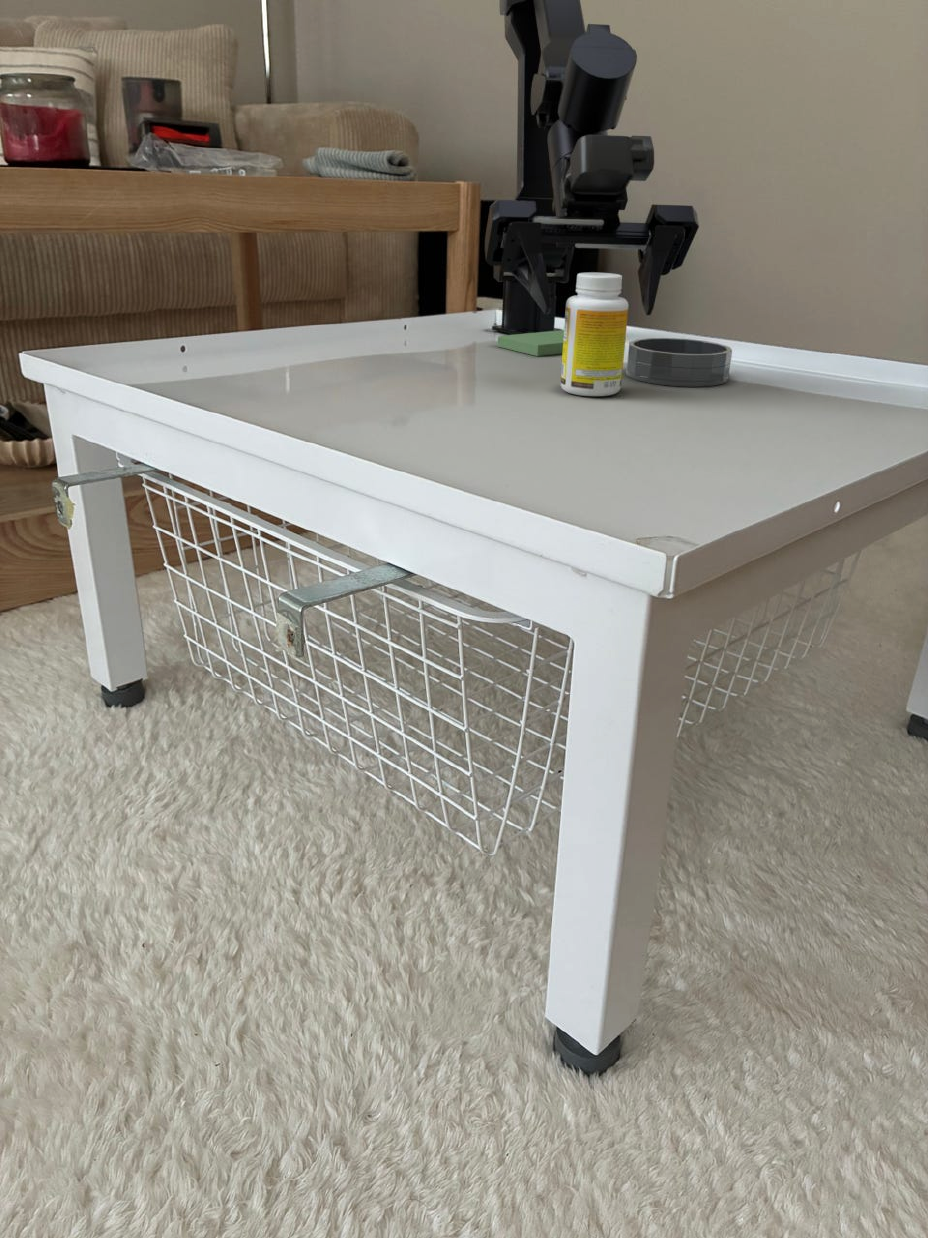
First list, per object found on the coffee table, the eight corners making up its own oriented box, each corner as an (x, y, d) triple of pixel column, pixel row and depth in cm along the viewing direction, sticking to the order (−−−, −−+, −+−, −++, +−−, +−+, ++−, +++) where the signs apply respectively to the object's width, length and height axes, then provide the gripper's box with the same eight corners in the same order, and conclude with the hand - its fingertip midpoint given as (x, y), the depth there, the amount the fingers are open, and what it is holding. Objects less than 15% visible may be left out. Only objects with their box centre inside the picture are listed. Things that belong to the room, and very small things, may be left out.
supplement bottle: (632, 395, 87) (645, 276, 82) (583, 400, 84) (593, 278, 80) (596, 383, 91) (606, 270, 87) (548, 388, 88) (555, 271, 84)
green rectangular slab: (497, 346, 109) (497, 335, 108) (561, 340, 114) (562, 329, 114) (537, 356, 104) (538, 344, 103) (602, 349, 109) (603, 338, 109)
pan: (605, 372, 96) (608, 342, 95) (671, 364, 102) (675, 335, 101) (681, 390, 89) (685, 358, 88) (747, 380, 95) (752, 349, 93)
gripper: (494, 95, 80) (507, 243, 75) (706, 104, 82) (733, 248, 77) (479, 195, 91) (490, 331, 86) (668, 201, 93) (690, 334, 88)
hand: (599, 311), depth 84 cm, fingers open, 9 cm apart
